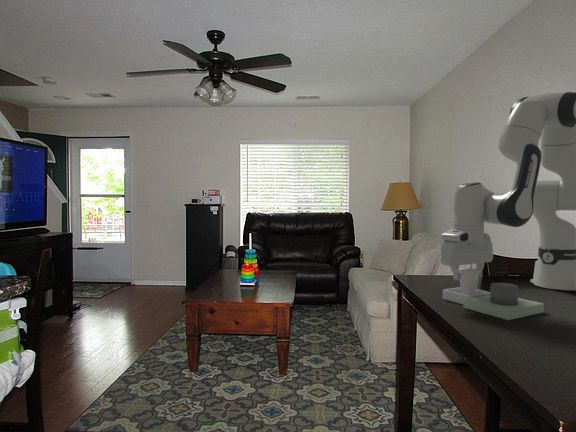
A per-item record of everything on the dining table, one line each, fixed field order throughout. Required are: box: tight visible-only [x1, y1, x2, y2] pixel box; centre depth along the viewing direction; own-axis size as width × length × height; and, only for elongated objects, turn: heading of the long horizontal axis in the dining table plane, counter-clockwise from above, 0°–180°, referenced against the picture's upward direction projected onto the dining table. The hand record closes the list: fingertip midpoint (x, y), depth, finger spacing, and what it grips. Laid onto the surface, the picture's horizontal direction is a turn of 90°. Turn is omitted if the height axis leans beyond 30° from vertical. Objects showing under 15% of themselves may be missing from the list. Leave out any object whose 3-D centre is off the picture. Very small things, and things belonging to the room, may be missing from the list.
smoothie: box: [458, 264, 480, 296], centre depth 127 cm, size 6×6×14 cm
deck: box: [442, 282, 545, 321], centre depth 121 cm, size 16×24×8 cm, turn 27°
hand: (467, 278), depth 127 cm, fingers open, 8 cm apart
